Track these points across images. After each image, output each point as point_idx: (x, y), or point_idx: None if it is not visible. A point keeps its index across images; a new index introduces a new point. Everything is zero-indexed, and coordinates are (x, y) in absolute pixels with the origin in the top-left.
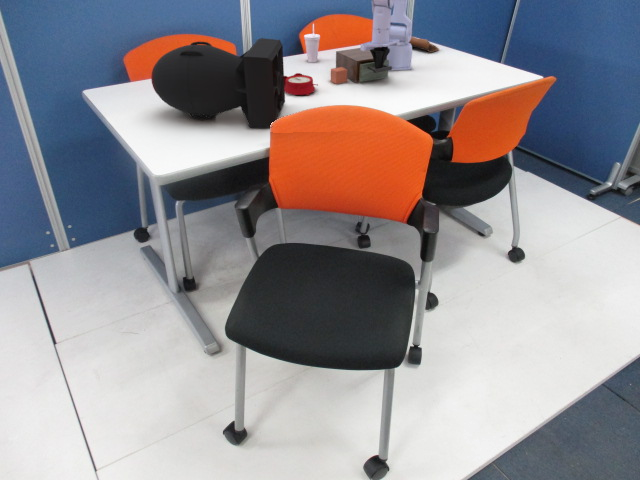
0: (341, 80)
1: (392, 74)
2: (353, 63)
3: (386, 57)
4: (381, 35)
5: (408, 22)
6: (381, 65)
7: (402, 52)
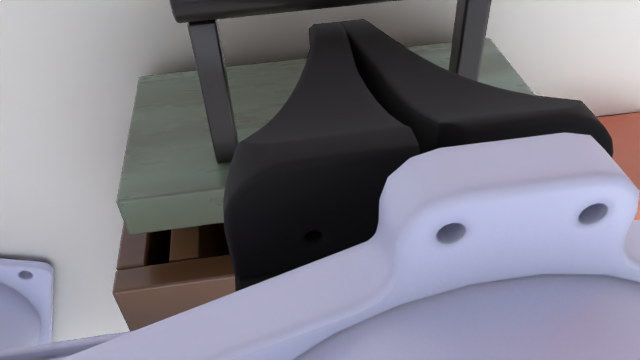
0: None
1: (29, 179)
2: None
3: (123, 279)
4: None
5: None
6: (347, 40)
7: None
